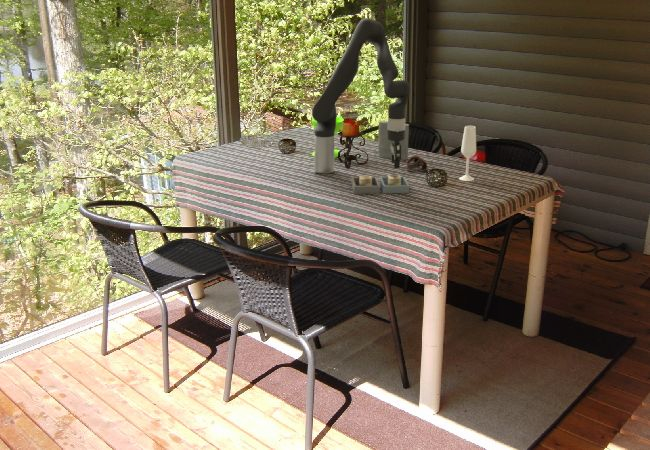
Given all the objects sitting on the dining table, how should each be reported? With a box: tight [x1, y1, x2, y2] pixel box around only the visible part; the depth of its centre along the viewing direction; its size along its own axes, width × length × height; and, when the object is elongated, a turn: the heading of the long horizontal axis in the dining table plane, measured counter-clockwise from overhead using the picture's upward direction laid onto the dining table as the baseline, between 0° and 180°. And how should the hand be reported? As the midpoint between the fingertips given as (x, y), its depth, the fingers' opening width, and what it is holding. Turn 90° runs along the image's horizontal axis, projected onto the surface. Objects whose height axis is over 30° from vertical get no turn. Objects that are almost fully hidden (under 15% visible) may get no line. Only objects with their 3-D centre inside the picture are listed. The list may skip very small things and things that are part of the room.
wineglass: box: [311, 116, 345, 159], centre depth 370 cm, size 16×16×18 cm
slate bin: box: [379, 176, 410, 194], centre depth 317 cm, size 11×14×4 cm
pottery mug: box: [406, 155, 429, 173], centre depth 345 cm, size 12×9×8 cm
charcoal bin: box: [351, 176, 381, 195], centre depth 317 cm, size 11×14×4 cm
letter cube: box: [387, 174, 402, 186], centre depth 317 cm, size 5×5×5 cm
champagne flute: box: [458, 125, 477, 182], centre depth 328 cm, size 7×7×24 cm
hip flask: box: [377, 120, 410, 161], centre depth 364 cm, size 16×4×20 cm, turn 60°
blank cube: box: [358, 175, 372, 186], centre depth 316 cm, size 5×5×5 cm
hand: (395, 165), depth 314 cm, fingers open, 8 cm apart
